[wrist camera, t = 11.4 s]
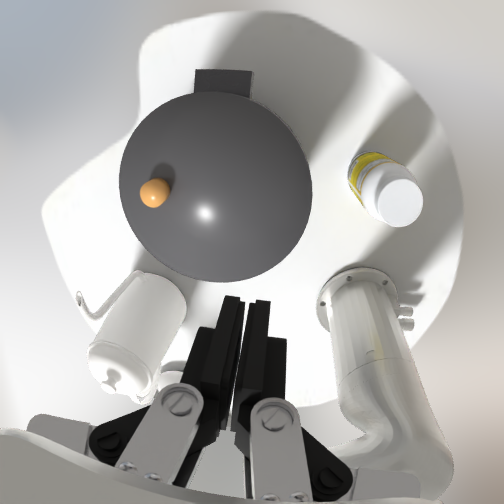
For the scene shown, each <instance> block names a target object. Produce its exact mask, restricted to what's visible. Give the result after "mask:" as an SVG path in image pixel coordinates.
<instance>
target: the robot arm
mask: <svg viewBox="0 0 504 504" xmlns="http://www.w3.org/2000/svg"><path fill="white" fill-rule="evenodd" d="M270 303H271V301H263V300H256V303H250V304H249V310H248V315H247V321H246V326H245V332H244V337H243V342H242V348H241V339H242V330H243V320H244V310H245V302H242V301H240V297H234V296H227V295H225V298H224V301H223V304H222V308H221V311H220V314H219V318H218V321H217V325H216V328H215V329H213V328H207V327H201V326H200V327H199V329H198V332H197V334H196V337H195V340H194V343H193V346H192V348H191V351H190V354H189V357H188V360H187V363H186V366H185V368H184V371H183V374H182V377H181V380H180V383H174V384H170V385H167V386H166V387H164V388H162V389H161V391H160V392H159V393H158V394H157V396H156V398H155V399H154V401H153V403H152V405H149V406H147V407H144V408H142V409H139V410H137V411H135V412H132V413H130V414H127V415H125V416H122V417H119V418H117V419H114V420H112V421H109V422H106V423H103V424H101V425H99V426H92V425H90V423H86V422H80V421H75V420H70V419H64V418H60V417H55V416H51V415H46V414H39V415H36V416H34V417H33V418H32V419H31V420H30V422H29V424H28V427H27V430H26V431H25V430H20V429H14V428H0V504H443V502H442V501H440V500H439V499H437V498H438V497H439V496H441V495H442V493H444V492H445V490H446V489H447V488H448V486H449V485H450V483H451V480H452V477H453V472H454V464H453V458H452V454H451V452H450V449H449V446H448V444H447V441H446V439H445V437H444V435H443V433H442V431H441V429H440V427H439V425H438V423H437V421H436V418H435V416H434V414H433V412H432V409H431V407H430V405H429V402H428V399H427V397H426V394H425V391H424V388H423V386H422V383H421V381H420V377H419V374H418V372H417V369H416V366H415V363H414V360H413V358H412V355H411V352H410V349H409V346H408V344H407V341H406V339H405V336H404V333H403V331H412V330H413V328H414V320H413V319H407V318H402V319H398V316H399V315H403V316H412V314H413V308H412V307H400V305H398V294H397V290H396V287H395V285H394V283H393V282H392V280H391V279H390V278H389V277H388V276H387V275H386V274H385V273H383V272H381V271H379V270H376V269H373V268H355V269H350V270H347V271H344V272H342V273H340V274H338V275H337V276H335V277H333V278H332V279H331V280H330V281H328V282H327V283H326V285H325V286H324V287H323V288H322V290H321V292H320V293H319V295H318V298H317V302H316V312H317V317H318V320H319V322H320V324H321V325H322V326H323V327H324V328H325V329H326V330H327V331H328V332H330V335H331V343H332V350H333V358H334V366H335V374H336V383H337V392H338V402H339V406H340V409H341V412H342V413H343V415H344V417H345V418H346V419H347V420H348V421H349V422H350V423H351V424H353V425H354V426H355V427H357V428H358V429H360V430H361V431H363V432H365V433H366V434H365V435H364V436H362V437H360V438H357V439H355V440H352V441H349V442H347V443H344V444H341V445H337V446H334V447H330V448H325V447H324V446H323V445H322V444H321V443H320V442H318V441H317V440H316V439H315V438H314V437H313V436H312V435H310V434H309V433H308V432H307V431H306V430H305V429H304V428H303V427H301V423H300V417H299V414H298V411H297V409H296V408H295V407H294V406H293V404H291V403H290V402H288V401H286V400H285V383H286V352H287V340H286V339H284V338H276V337H268V326H269V315H270ZM240 349H241V353H240ZM239 357H240V359H239ZM238 363H239V364H238ZM237 368H238V370H237ZM236 373H237V375H236ZM235 379H236V381H235ZM234 384H235V387H234ZM233 389H234V397H233V408H232V419H231V430H230V431H233V432H236V435H235V443H234V444H235V445H236V446H237V448H238V449H240V451H241V452H242V453H243V474H244V498H237V497H230V496H223V495H217V494H211V493H206V492H200V491H196V490H191V489H188V488H189V486H190V484H191V482H192V479H193V477H194V475H195V472H196V470H197V468H198V466H199V463H200V461H201V459H202V456H203V454H204V452H205V449H206V446H208V445H210V444H211V443H213V442H215V441H216V437H218V436H219V432H220V430H226V427H227V421H228V416H229V411H230V405H231V400H232V395H233Z"/></svg>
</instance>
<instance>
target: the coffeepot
mask: <svg viewBox="0 0 504 504" xmlns="http://www.w3.org/2000/svg"><path fill="white" fill-rule="evenodd" d="M115 301H116V302H115ZM76 302H77V305H78V307H79V309H80V311H81V313H82V314H83V316H84V317H85V318H86V319H88V320H89V321H97V320H99V319H100V318H102V317H103V315H104V314H105V313H106V312H107V311H108V310H109V308H110V307H111V306H112V305H113V304H114V305H113V307H112V309H111V310H110V312H109V314H108V316H107V318H106V319H105V321H104V323H103V325H102V327H101V329H100V330H99V332H98V334H97V336H96V338H95V340H94V342H92V343H91V344H90V345H89V347H88V349H87V357H88V366H89V369H90V371H91V372H92V374H93V375H94V377H95V378H96V379H97V380H98V381H99V382H100V383H101V384H100V385H101V387H102V389H103V390H105V391H106V392H108V393H111V394H115V392H118V393H121V394H125V395H129V396H130V397H131V399H132V400H133V401H134V402H135V403H138V404H142V405H146V404H148V403H150V402H151V400H152V399H153V397H154V395H155V392H156V390H157V386H158V382H159V377H160V371H161V361H162V359H163V357H164V356H165V354H166V352H167V350H168V348H169V346H170V345H171V343H172V341H173V339H174V337H175V335H176V334H177V332H178V330H179V328H180V326H181V324H182V323H183V321H184V319H185V316H186V312H187V306H186V301H185V298H184V296H183V294H182V293H181V291H180V290H179V289H178V288H177V287H176V286H175V285H174V284H173V283H172V282H171V281H169V280H168V279H166V278H164V277H162V276H159V275H156V274H151V273H143V272H142V271H140V270H136V271H134V272H132V273H131V274H130V275H129V276H128V277H127V278H126V279H125V280H124V282H123V283H122V284H121V285H120V286H119V287H118V288H117V289H116V290H115V292H114V293H113V294H112V295H111V296H110V297H109V298H108V299H107V301H106V302H105V303H104V304H103V305H102V306H101V307H100V308H99V310H98V311H97V312H95V313H91V312H90V311H89V309H88V307H87V305H86V303H85V301H84V299H83V296H82V294H81V292H80V291H78V292H77V293H76ZM114 302H115V303H114ZM138 393H140V394H138ZM137 394H138V395H137ZM138 397H140V398H143V397H145V399H144V400H143V401H141V402H140V401H139V399H138Z"/></svg>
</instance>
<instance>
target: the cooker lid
mask: <svg viewBox="0 0 504 504" xmlns="http://www.w3.org/2000/svg"><path fill="white" fill-rule="evenodd" d="M119 190H120V198H121V202H122V206H123V210H124V213H125V216H126V218H127V221H128V223H129V225H130V227H131V229H132V231H133V232H134V234H135V235H136V237H137V238H138V240H139V241H140V242H141V243H142V245H143V246H144V247H145V248H146V249H147V250H148V251H149V252H150V253H151V254H152V255H153V256H154V257H155V258H156V259H158V260H159V261H160V262H162V263H163V264H164V265H166V266H168V267H169V268H171V269H172V270H174V271H176V272H178V273H181V274H183V275H185V276H188V277H191V278H194V279H198V280H202V281H209V282H235V281H241V280H245V279H249V278H252V277H255V276H258V275H260V274H262V273H264V272H266V271H268V270H270V269H271V268H273V267H274V266H276V265H277V264H278V263H280V262H281V261H282V260H283V259H284V258H285V257H286V256H287V255H288V254H289V253H290V252H291V251H292V250H293V248H294V247H295V246H296V245H297V243H298V241H299V240H300V238H301V236H302V234H303V233H304V230H305V228H306V225H307V223H308V219H309V215H310V211H311V205H312V181H311V175H310V170H309V165H308V162H307V159H306V156H305V153H304V150H303V148H302V147H301V145H300V143H299V141H298V139H297V137H296V136H295V135H294V133H293V132H292V130H291V129H290V128H289V127H288V126H287V125H286V123H285V122H284V121H283V120H282V119H281V118H280V117H278V116H277V115H276V114H275V113H274V112H272V111H271V110H270V109H268V108H266V107H265V106H263V105H261V104H260V103H258V102H256V101H253V100H251V99H248V98H246V97H243V96H239V95H235V94H231V93H223V92H197V93H191V94H186V95H183V96H180V97H177V98H174V99H172V100H170V101H168V102H166V103H164V104H162V105H161V106H159V107H158V108H156V109H155V110H154V111H152V112H151V113H150V114H149V115H148V116H147V117H146V118H145V119H144V120H143V121H142V122H141V123H140V124H139V125H138V127H137V128H136V129H135V131H134V132H133V134H132V136H131V137H130V139H129V141H128V143H127V145H126V148H125V150H124V153H123V157H122V161H121V165H120V173H119Z"/></svg>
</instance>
